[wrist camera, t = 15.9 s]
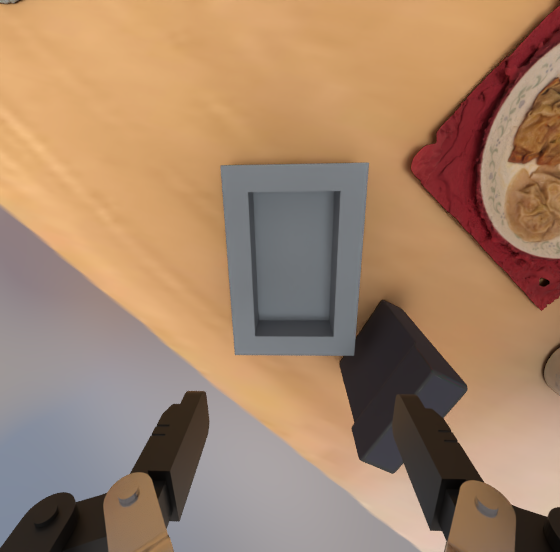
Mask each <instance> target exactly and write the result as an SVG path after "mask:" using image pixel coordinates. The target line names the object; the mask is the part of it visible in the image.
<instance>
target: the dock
mask: <svg viewBox="0 0 560 552" xmlns="http://www.w3.org/2000/svg"><path fill="white" fill-rule="evenodd" d="M368 168H369V163H327V164H274V165H221V178H222V192H223V205H224V218H225V231H226V244H227V257H228V270H229V283H230V296H231V309H232V322H233V335H234V349H235V355H322V356H354V352H355V339H356V325H357V312H358V299H359V286H360V273H361V260H362V247H363V234H364V221H365V208H366V195H367V181H368Z"/></svg>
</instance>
